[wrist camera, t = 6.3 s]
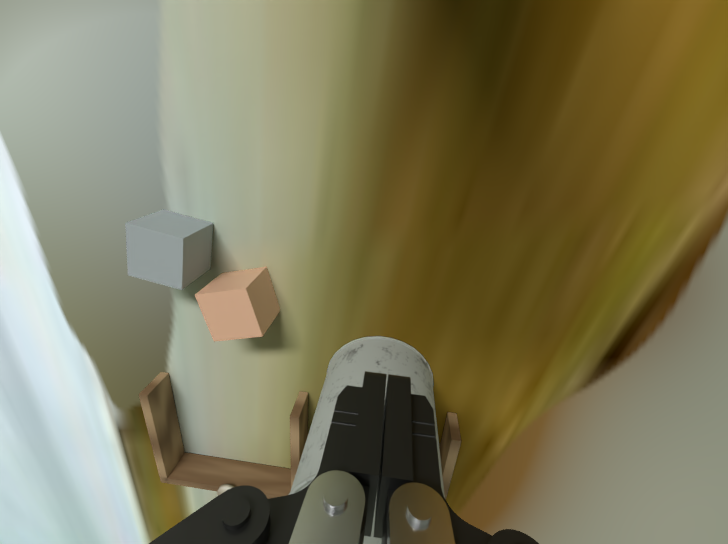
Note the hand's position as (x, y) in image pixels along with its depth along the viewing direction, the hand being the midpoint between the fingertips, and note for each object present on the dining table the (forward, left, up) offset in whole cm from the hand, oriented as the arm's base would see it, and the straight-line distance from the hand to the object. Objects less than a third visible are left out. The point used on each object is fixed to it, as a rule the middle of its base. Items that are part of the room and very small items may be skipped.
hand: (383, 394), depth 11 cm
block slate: (+1, -16, -16) cm, 23 cm away
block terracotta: (+5, -11, -16) cm, 20 cm away
